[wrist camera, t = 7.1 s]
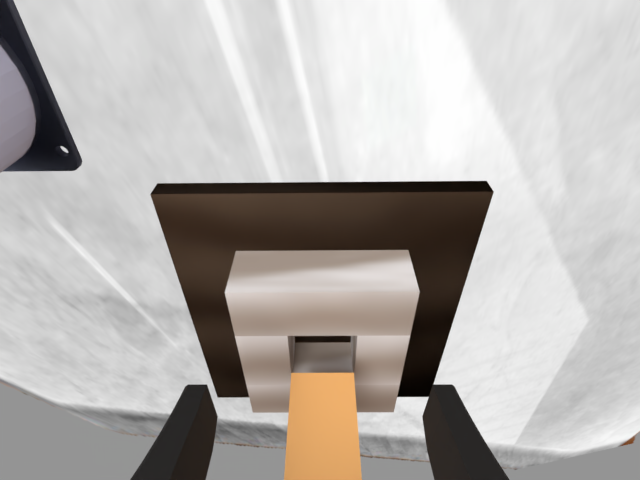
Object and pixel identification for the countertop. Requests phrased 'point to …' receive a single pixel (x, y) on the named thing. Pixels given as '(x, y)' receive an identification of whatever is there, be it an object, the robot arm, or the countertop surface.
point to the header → (322, 280)
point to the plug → (322, 428)
